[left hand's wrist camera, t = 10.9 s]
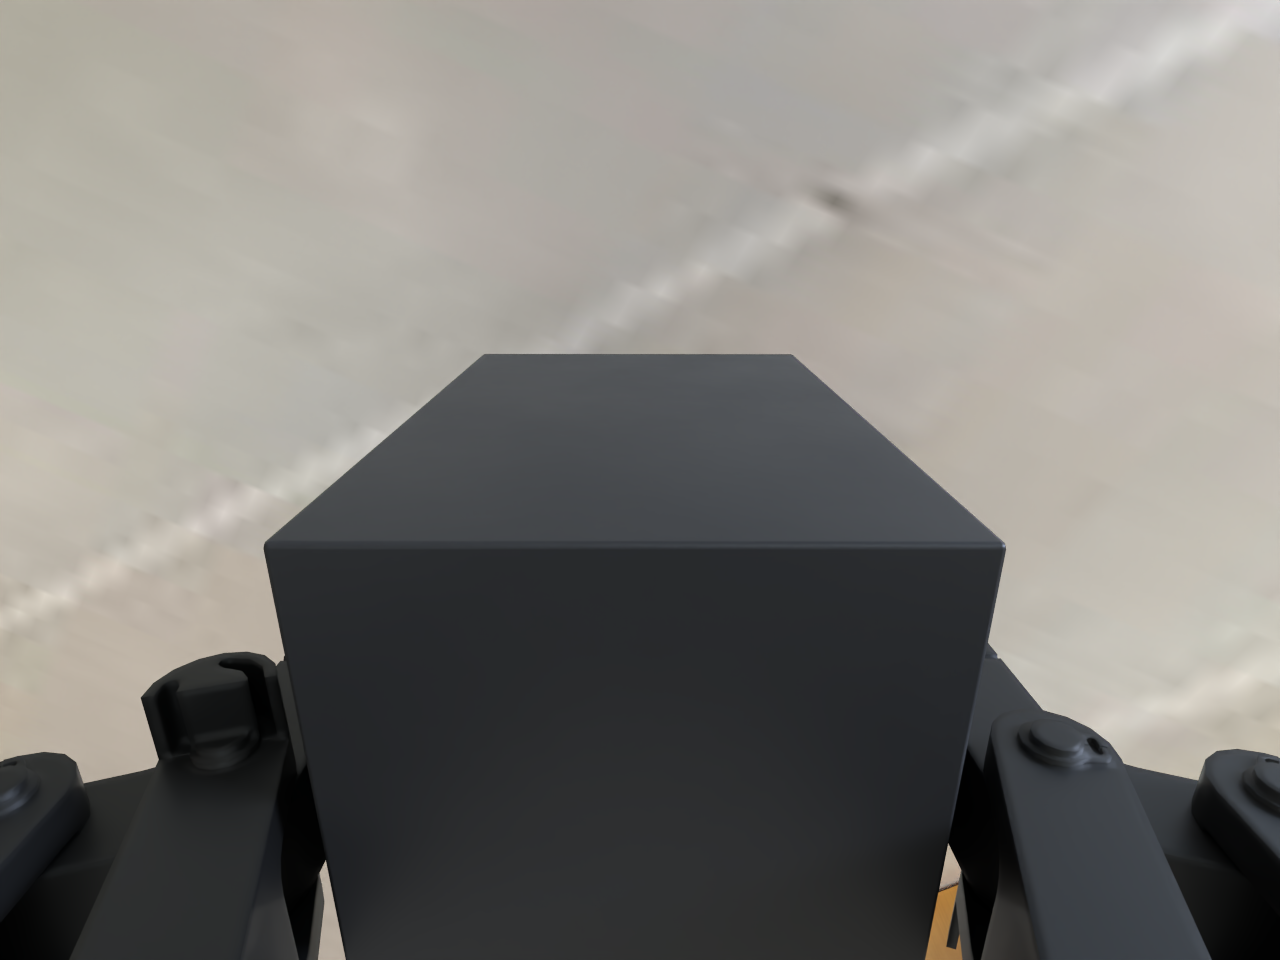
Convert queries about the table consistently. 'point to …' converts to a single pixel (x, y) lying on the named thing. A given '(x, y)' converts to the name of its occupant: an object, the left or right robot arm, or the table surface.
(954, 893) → the bread
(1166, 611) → the table surface
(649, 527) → the bar
